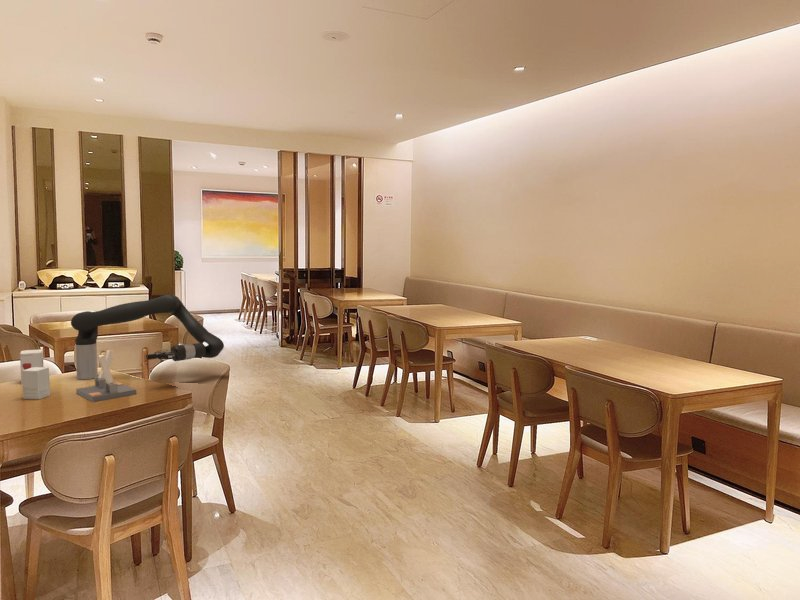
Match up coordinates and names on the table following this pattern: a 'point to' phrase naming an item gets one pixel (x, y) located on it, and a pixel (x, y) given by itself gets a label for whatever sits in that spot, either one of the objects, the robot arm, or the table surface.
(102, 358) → the lever near
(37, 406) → the table surface
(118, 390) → the switch base
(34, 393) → the supplement box
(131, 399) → the table surface
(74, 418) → the table surface
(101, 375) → the lever far
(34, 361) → the supplement box
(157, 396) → the table surface
